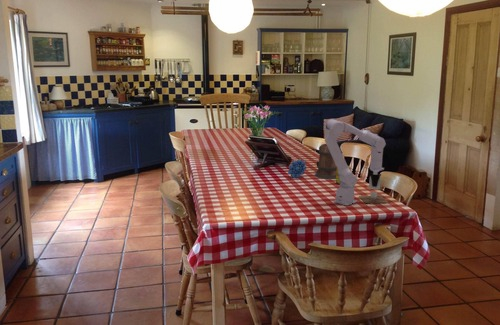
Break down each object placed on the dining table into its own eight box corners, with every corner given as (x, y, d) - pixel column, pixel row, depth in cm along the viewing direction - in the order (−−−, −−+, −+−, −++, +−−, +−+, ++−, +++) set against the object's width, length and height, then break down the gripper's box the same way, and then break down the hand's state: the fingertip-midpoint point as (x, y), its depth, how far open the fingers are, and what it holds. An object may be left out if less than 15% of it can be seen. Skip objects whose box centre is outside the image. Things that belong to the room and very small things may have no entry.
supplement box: (335, 183, 272) (336, 165, 269) (344, 182, 274) (345, 164, 272) (340, 185, 266) (341, 167, 264) (349, 184, 269) (350, 166, 266)
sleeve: (380, 189, 234) (380, 180, 233) (368, 188, 236) (369, 179, 234) (380, 186, 239) (380, 177, 238) (369, 185, 241) (369, 176, 240)
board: (388, 203, 234) (389, 196, 233) (365, 204, 233) (366, 196, 232) (380, 196, 245) (381, 189, 244) (358, 197, 244) (359, 189, 244)
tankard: (346, 178, 283) (347, 146, 278) (321, 180, 278) (322, 148, 274) (329, 169, 305) (330, 140, 300) (306, 171, 300) (307, 141, 296)
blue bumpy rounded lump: (304, 175, 288) (305, 157, 285) (307, 178, 281) (307, 159, 279) (286, 176, 286) (286, 157, 284) (288, 179, 280) (289, 160, 277)
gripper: (384, 163, 226) (382, 189, 229) (384, 157, 240) (382, 182, 243) (369, 162, 228) (368, 188, 231) (370, 156, 242) (369, 180, 245)
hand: (374, 184), depth 237 cm, fingers closed on sleeve, 6 cm apart
